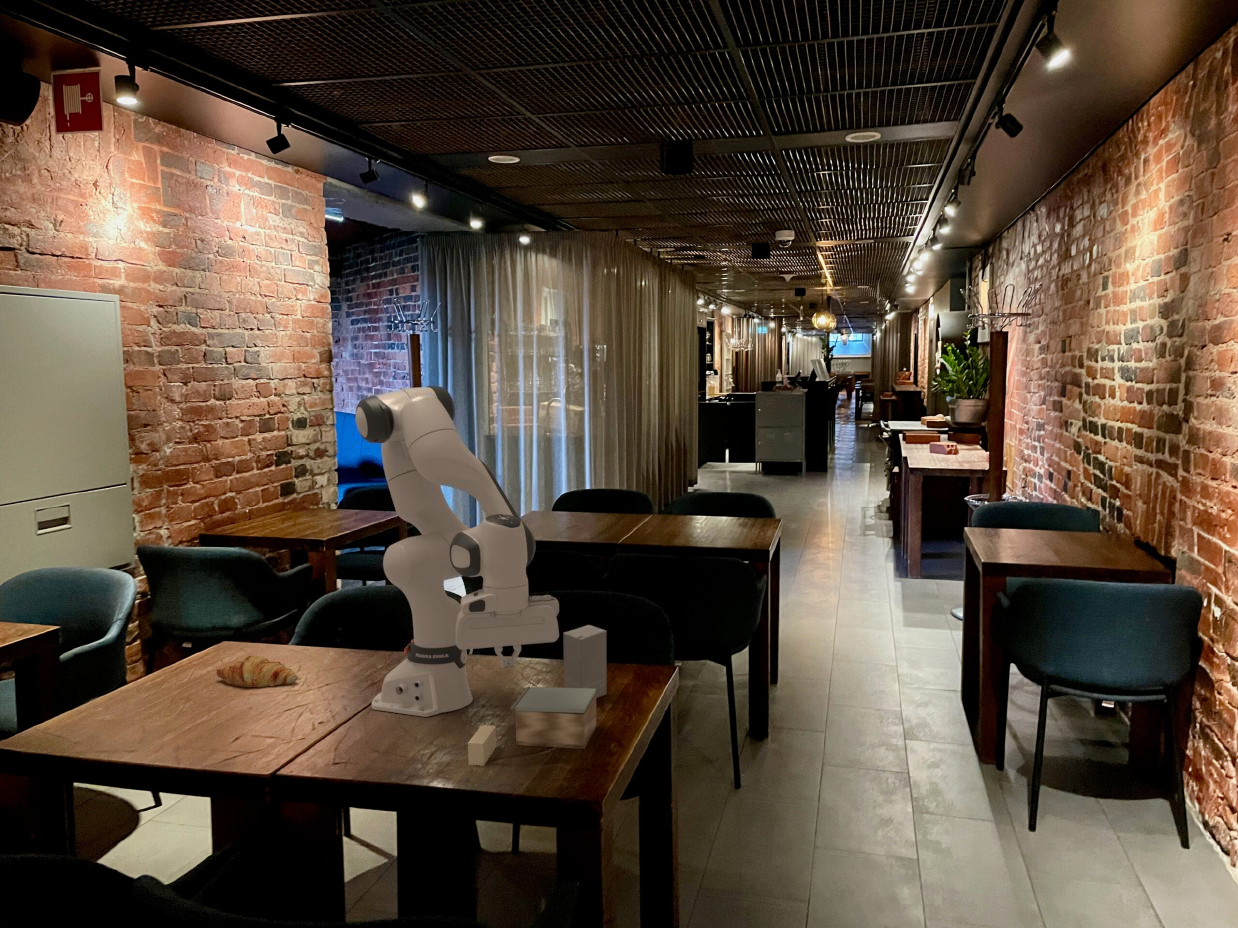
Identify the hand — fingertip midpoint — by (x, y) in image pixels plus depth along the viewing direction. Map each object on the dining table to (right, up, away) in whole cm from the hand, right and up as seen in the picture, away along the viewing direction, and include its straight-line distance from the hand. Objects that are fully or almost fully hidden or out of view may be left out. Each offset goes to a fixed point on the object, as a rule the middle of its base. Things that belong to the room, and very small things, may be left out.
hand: (508, 666), depth 181 cm
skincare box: (+14, -14, +30) cm, 36 cm away
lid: (+9, -9, +7) cm, 14 cm away
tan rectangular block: (-5, -17, -2) cm, 18 cm away
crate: (+9, -16, +8) cm, 20 cm away
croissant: (-67, -14, +43) cm, 81 cm away
